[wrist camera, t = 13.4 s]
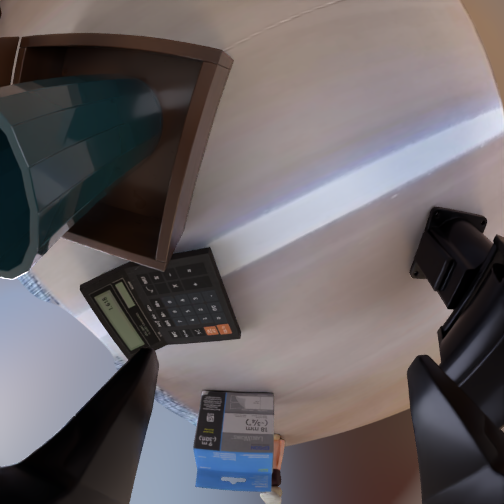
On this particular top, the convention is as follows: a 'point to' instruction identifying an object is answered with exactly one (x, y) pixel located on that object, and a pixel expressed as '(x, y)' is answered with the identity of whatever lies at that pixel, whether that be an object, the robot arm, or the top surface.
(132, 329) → the calculator
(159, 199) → the brown wooden square box
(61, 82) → the teal drinking tumbler
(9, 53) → the lid
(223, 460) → the tape cartridge
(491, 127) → the top surface
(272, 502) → the grandmother figurine
